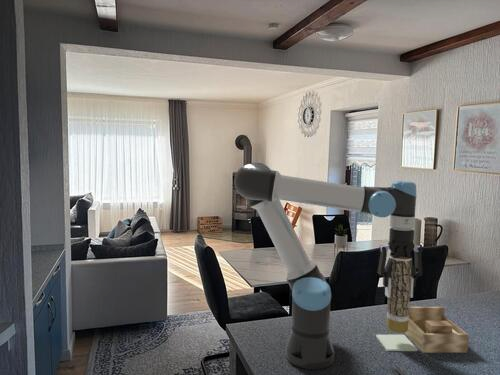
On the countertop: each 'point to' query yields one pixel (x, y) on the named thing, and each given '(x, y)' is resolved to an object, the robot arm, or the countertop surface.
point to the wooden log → (399, 295)
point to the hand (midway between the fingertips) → (398, 296)
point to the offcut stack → (439, 327)
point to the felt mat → (396, 343)
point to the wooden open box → (434, 340)
